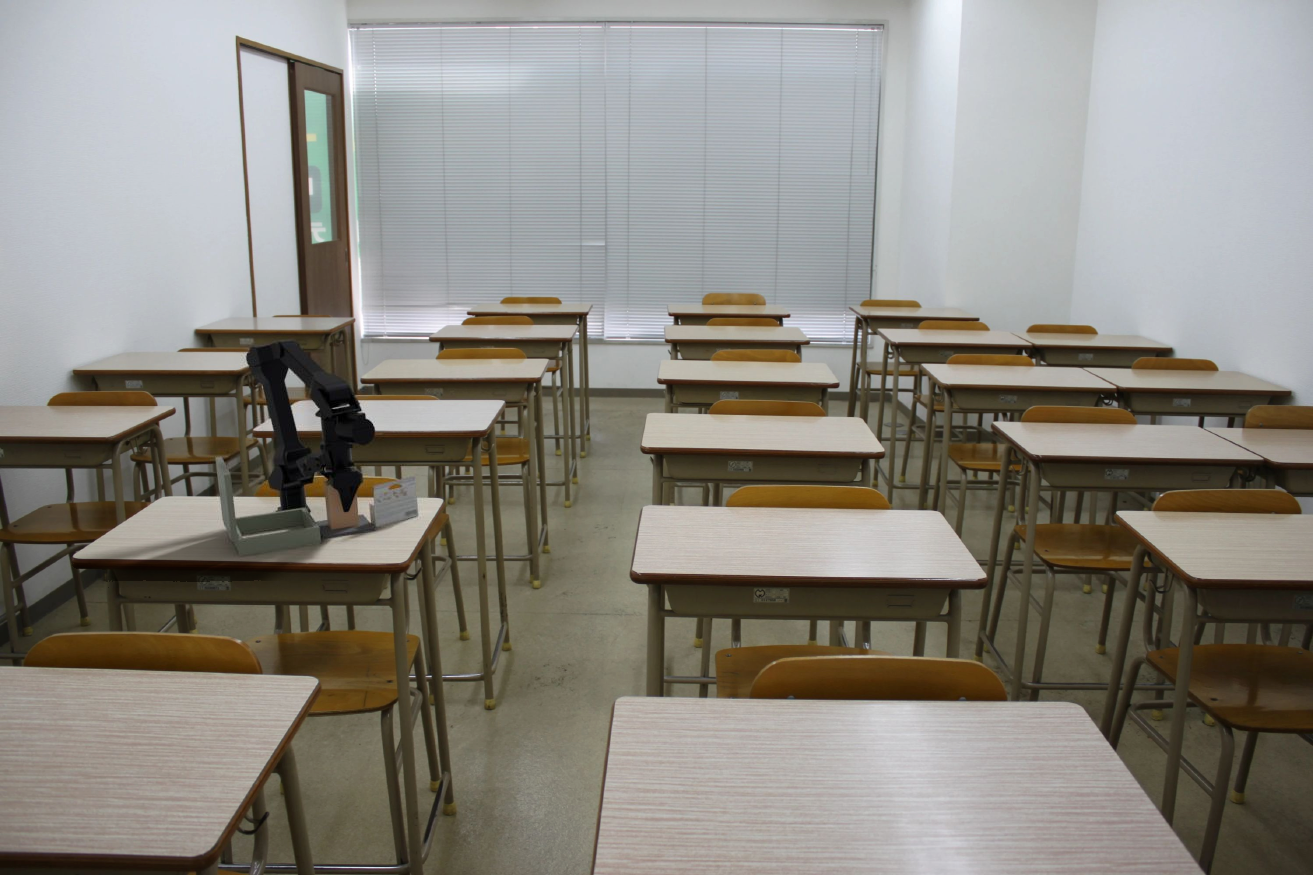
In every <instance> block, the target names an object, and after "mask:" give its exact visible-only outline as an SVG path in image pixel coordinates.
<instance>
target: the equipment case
mask: <svg viewBox="0 0 1313 875" xmlns="http://www.w3.org/2000/svg"><path fill="white" fill-rule="evenodd" d="M214 458H215V466H216V467H215V468H216V474H217V483H218V491H219V501H220V510H221V518H222V521H223V526H224V527H225V529H226V531H227V533H228V536H229V540H230V541H231V542H233V544H234V546H235V549H236V550H237V553H238V555H239V557H246V556H251V555H256V554H257V555H258V554H263V553H269V552H274V551H275V552H276V551H281V550H287V548H288V549H294V548H299V547H304V546H310V545H317V544H321V543H322V540H321V538H322V537H321V535H320V527H319V526H318V525H317V523H316V522H317V521H316V520H315V519H314V517H313V516H312V515H311V512H308V511H307V509H306V508H299V509H292V510H285V511H278V510H277V511H273V512H266V513H259V514H252V515H245V516H239V517H236V511H235V503H234V502H235V501H234V493H233V485H232V476H231V472H230V471H229V469H228V468H229V467H227V465H226V463H225V461H224V459H223V457H222V456H217V457H214ZM300 525H302V526H304V527H302V528H298V529H291V530H286V531H280V532H278V531H277V532H272V533H266V534H260V535H254V536H248V537H243V536H242V535H243V534H249V533H255V532H261V531H268V530H274V529H281V528H288V527H292V526H293V527H294V526H300Z"/></svg>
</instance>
